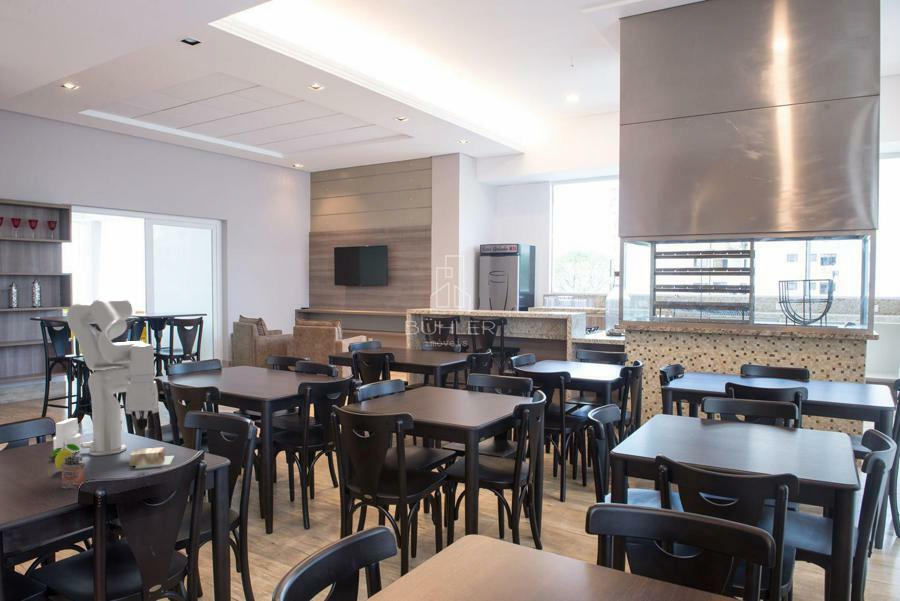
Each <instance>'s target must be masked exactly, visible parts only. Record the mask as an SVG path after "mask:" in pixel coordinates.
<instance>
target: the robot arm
mask: <svg viewBox="0 0 900 601" xmlns="http://www.w3.org/2000/svg"><path fill="white" fill-rule="evenodd" d="M130 302H131V301H129V300H127V299H126V298H121V297H119V298H118V297H117V298H99V299H95V300H94V301H92V302H79V303H75V304H72V305H71V306H69V307H68V309H67V312H66V320H67V324H68V327H69V329H70V331H71V333H72V334H73V336H74V338H76V340H77V342H78V345H79V348H80V351H81V354H82V356H83V359H84V362H85V364H86V367H87V368H88V369H89V370H91V371H94V372H92V373H91V374H90V375H89V377H88V380H87V381H88V382H87V383H88V389H89V393H90V397H91V413H92V414H91V415H92V416H91V417H92V418H91V420H92V440H91V441H87V442H86V441H85V442H81V449H88V454H89V455H90V456H97V457H98V456H99V457H100V456H109V455H114V454H119V453H121V452H124V451H126V450H127V445H126V444H122V441H123V440H122V414H121V413H122V412H121V411H122V410H121V402H119V400H118V399H117V397H115V394H120V393H125V403H124V404H125V414H127V415H131V416H134V417H135V418H136V420H137V423H136V424H137V428H138V429H139V430H138V431H145V430H146V428H147V427H148V426H149V425H148V422H149V421H148V418H149V417H150V416H151V415H152V414H155V413H158V412H159V411H160V408H159V393H158V384H157V381H156V380H155V374H154V373H155V359H154V358H155V357H154V355H155V352H154V351H155V347H154V346H153V344H151V343H146V342H144V341H141V340H136V341H135V340H133V341H124V342H122V341H121V342H113V341H112V340H114V339H116V338H118V337H120V336H122V335H123V334H124V333H125V331H126V330H127V327H128V324H127V321H126V320H128V319H129V318H131V316H133V307H132V304H131V303H130ZM91 324H92V325H93V324H96V325H97V326H98V328H99V329H100V331H99V330H98V328H95V327H94V326H92V325H91ZM142 412H143V416H142Z"/></svg>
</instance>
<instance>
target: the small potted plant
mask: <svg viewBox="0 0 900 601" xmlns="http://www.w3.org/2000/svg"><path fill="white" fill-rule="evenodd" d="M64 458H65V463H61V467H62V469H61V488H62V487H65V488H64V489H67V488H74V489H73V490H79V489H78V488H79V486H80V484H81V483H82V482H84V481H86V480H85V463H84V462H82V461H83V457H82V456H77V455H74V454H73V455H72V456H66V457H64Z"/></svg>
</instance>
